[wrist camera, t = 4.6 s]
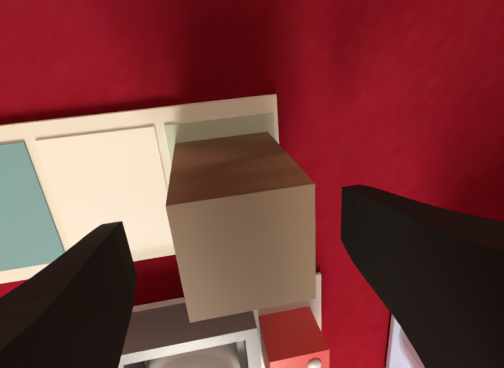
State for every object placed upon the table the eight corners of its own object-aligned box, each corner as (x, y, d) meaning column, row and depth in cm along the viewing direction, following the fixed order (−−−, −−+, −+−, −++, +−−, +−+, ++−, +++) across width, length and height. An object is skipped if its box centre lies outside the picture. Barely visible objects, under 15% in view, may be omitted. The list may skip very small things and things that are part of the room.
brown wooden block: (267, 131, 15) (314, 184, 9) (272, 212, 16) (315, 298, 11) (174, 143, 14) (165, 206, 9) (189, 225, 16) (189, 323, 10)
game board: (275, 93, 14) (277, 95, 14) (282, 233, 17) (284, 237, 17) (-116, 137, 12) (-125, 140, 12) (-36, 285, 15) (-42, 291, 15)
